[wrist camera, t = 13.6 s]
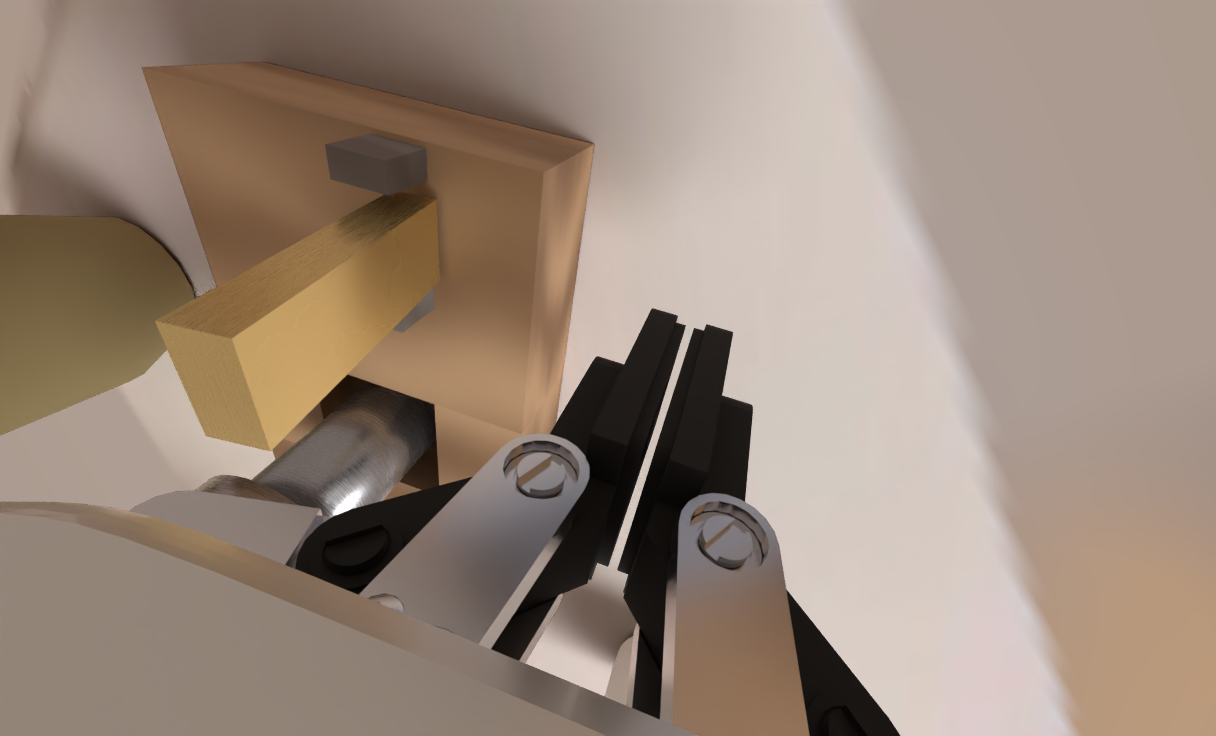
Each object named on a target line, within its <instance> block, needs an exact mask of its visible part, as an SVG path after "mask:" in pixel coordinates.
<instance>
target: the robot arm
mask: <svg viewBox="0 0 1216 736" xmlns="http://www.w3.org/2000/svg"><path fill="white" fill-rule="evenodd" d="M677 318H678V316H677V315H674V314H670V313H667V312H664V311H660V310H657V309H653V308H652V309H651V311H650V313H649V315H648V317H647V319H646V321H645V323H644V325H643V327H642V329H641V332H640V334H639V336H638V338H637V340H636V342H635V344H634V346H633V348H632V350H631V352H630V354H629V356H628V358H627V360H626V362H625V364H621V363H618V362H614V361H611V360H608V359H605V358H602V357H599V356H597V357H596V358H595V359H594V360H593V362H592V364H591V365H590V367H589V369H588V370H587V372H586V374H585V375H584V377H583V379H582V380H581V382H580V384H579V385H578V387H577V389H576V391H575V392H574V394H573V396H572V397H571V399H570V401H569V402H568V404H567V406H566V407H565V409H564V411H563V412H562V414H561V416H560V417H559V419H558V421H557V422H556V424H555V426H554V428H553V429H552V431H551V433H550V434H540V433H537V434H529V435H523V436H521V437H518V438H516V439H513V440H511V441H510V442H508V443H507V444H506V445H504V446H503V447H502V448H501V449H500V450H499V451H498V452H497V453H496V454H495V455H494V456H493V457H492V458H491V459H490V460H489V461H488V462H487V463H486V464H485V465H484V466H483V467H482V468H481V469H480V470H479V471H478V472H477V473H476V474H475V475H474V476H473V477H469V478H465V479H462V480H458V481H454V482H451V483H447V484H443V485H439V486H436V487H432V488H428V489H424V490H421V491H417V492H413V493H409V494H406V495H402V496H398V497H395V498H391V499H387V500H383V501H380V502H376V503H372V504H368V505H365V506H361V507H357V508H353V509H350V510H348V511H345V512H342V513H340V514H337V515H335V516H333V517H328V516H322V512H321V509H319V508H313V507H306V506H299V505H292V504H285V503H278V502H271V501H264V500H257V499H250V498H243V497H236V496H229V495H222V494H215V493H208V492H201V491H176V492H172V493H168V494H164V495H160V496H156V497H154V498H152V499H150V500H148V501H146V502H144V503H142V504H139V505H137V506H135V507H134V508H133V509H131V510H130V511H125V510H120V509H116V508H110V507H103V506H95V505H88V504H78V503H61V502H60V503H59V502H0V736H900V735H899V733H898V731H897V730H896V728H895V727H894V725H893V724H892V722H891V721H890V719H889V718H888V717H887V715H886V714H885V713H884V712H883V710H882V709H881V708H880V707H879V705H878V704H877V703H876V702H875V700H874V699H873V698H872V696H871V695H870V694H869V693H868V691H867V690H866V689H865V688H864V686H863V685H862V684H861V683H860V681H859V680H858V679H857V678H856V676H855V675H854V674H853V673H852V671H851V670H850V669H849V668H848V666H847V665H846V664H845V662H844V661H843V660H842V659H841V657H840V656H839V655H838V654H837V652H836V651H835V650H834V649H833V647H832V646H831V645H830V644H829V642H828V641H827V640H826V639H825V637H824V636H823V635H822V634H821V632H820V631H819V630H818V629H817V627H816V626H815V625H814V623H813V622H812V621H811V620H810V618H809V617H808V616H807V615H806V613H805V612H804V611H803V610H802V608H801V607H800V606H799V605H798V603H797V602H796V601H795V600H794V598H793V597H792V596H791V595H790V593H789V592H788V591H787V590H786V585H785V578H784V572H783V566H782V560H781V553H780V547H779V543H778V540H777V537H776V534H775V532H774V530H773V529H772V527H771V525H770V524H769V522H768V521H767V519H766V518H765V517H764V516H763V515H761V514H760V513H759V512H758V511H757V510H756V509H755V508H754V507H752V506H751V505H749V504H747V503H746V502H745V494H746V483H747V471H748V460H749V449H750V437H751V426H752V414H753V406H752V405H751V404H747V403H744V402H741V401H738V400H735V399H732V398H728V397H725V396H722V392H723V386H724V381H725V375H726V370H727V364H728V358H729V353H730V347H731V341H732V336H733V332H731V331H728V330H724V329H721V328H717V327H714V326H711V325H706V327H705V330H704V331H703V330H699V329H696V328H694V330H693V333H692V336H691V340H690V343H689V346H688V349H687V352H686V355H685V358H684V361H683V365H682V368H681V371H680V374H679V377H678V380H677V383H676V386H675V390H674V393H673V396H672V399H671V402H670V405H669V408H668V411H667V415H666V418H665V421H664V424H663V427H662V430H661V433H660V436H659V440H658V443H657V446H656V449H655V452H654V455H653V459H652V462H651V465H650V468H649V471H648V474H647V478H646V481H645V484H644V487H643V490H642V493H641V497H640V500H639V503H638V506H637V509H636V513H635V516H634V519H633V522H632V525H631V528H630V532H629V535H628V538H627V541H626V544H625V547H624V551H623V554H622V557H621V560H620V563H619V566H618V571H621V572H623V573H626V574H628V578H627V581H626V584H625V588H624V591H623V593H624V597H623V598H624V599H625V601H626V603H627V605H628V607H629V609H630V611H631V612H632V614H633V616H634V618H635V620H636V625H635V629H634V634H633V643H632V653H631V663H630V673H629V683H628V693H627V703H626V705H623V704H621V703H619V702H616V701H614V700H611V699H609V698H607V697H604V696H602V695H599V694H597V693H595V692H592V691H590V690H587V689H585V688H583V687H580V686H578V685H575V684H573V683H571V682H568V681H566V680H563V679H561V678H559V677H556V676H554V675H551V674H549V673H547V672H544V671H542V670H539V669H537V668H535V667H532V666H530V665H527V664H525V663H526V661H527V659H528V658H529V656H530V654H531V653H532V651H533V649H534V647H535V646H536V644H537V642H538V641H539V639H540V637H541V636H542V634H543V632H544V630H545V629H546V627H547V625H548V624H549V622H550V620H551V618H552V617H553V615H554V613H555V612H556V610H557V608H558V607H559V605H560V603H561V600H562V598H563V595H564V593H565V592H568V591H570V590H572V589H575V588H577V587H580V586H582V585H585V584H587V582H588V580H591V578H592V576H593V573H594V570H595V567H596V565H597V563H599V564H602V565H605V566H607V567H608V565H609V562H610V559H611V556H612V553H613V550H614V548H615V545H616V542H617V539H618V536H619V533H620V530H621V527H622V524H623V521H624V518H625V515H626V512H627V509H628V506H629V503H630V500H631V497H632V494H633V491H634V488H635V485H636V482H637V479H638V476H639V473H640V470H641V467H642V464H643V461H644V458H645V455H646V452H647V449H648V446H649V443H650V440H651V437H652V434H653V431H654V428H655V425H656V421H657V418H658V415H659V412H660V408H661V405H662V402H663V399H664V395H665V392H666V389H667V386H668V382H669V379H670V376H671V373H672V369H673V366H674V363H675V360H676V356H677V353H678V350H679V347H680V343H681V340H682V337H683V334H684V330H685V327H686V325H682V324H679V323H676V321H677Z"/></svg>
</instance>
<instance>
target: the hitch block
mask: <svg viewBox="0 0 1216 736" xmlns="http://www.w3.org/2000/svg"><path fill="white" fill-rule="evenodd" d="M142 70H143V73H144V76H145V79H146V82H147V84H148V87H149V90H150V93H151V96H152V99H153V102H154V105H155V108H156V111H157V114H158V117H159V120H160V122H161V125H162V128H163V131H164V134H165V137H166V140H167V143H168V146H169V149H170V152H171V155H172V158H173V160H174V163H175V166H176V169H177V172H178V175H179V178H180V181H181V184H182V187H183V190H184V193H185V196H186V198H187V201H188V204H189V207H190V210H191V213H192V216H193V219H194V222H195V225H196V228H197V231H198V234H199V236H200V239H201V242H202V245H203V248H204V251H205V254H206V257H207V260H208V263H209V266H210V269H211V272H212V274H213V277H214V280H215V283H216V286H219V285H221V284H223V283H224V282H226V281H228V280H230V279H232V278H233V277H235V276H237V275H239V274H241V273H243V272H244V271H246V270H248V269H250V268H252V267H253V266H255V265H257V264H259V263H261V262H263V261H264V260H266V259H268V258H270V257H272V256H273V255H275V254H277V253H279V252H281V251H282V250H284V249H286V248H288V247H290V246H292V245H293V244H295V243H297V242H299V241H301V240H302V239H304V238H306V237H308V236H310V235H311V234H313V233H315V232H317V231H319V230H321V229H322V228H324V227H326V226H328V225H330V224H331V223H333V222H335V221H337V220H339V219H341V218H342V217H344V216H346V215H348V214H350V213H351V212H353V211H355V210H357V209H359V208H360V207H362V206H364V205H366V204H368V203H370V202H371V201H373V200H375V199H377V198H379V197H380V196H382V195H388V196H390V195H392V194H395V193H397V192H405V193H409V194H414V195H419V196H423V197H428V198H432V199H437V220H438V244H439V268H440V282H439V283H438V284H437V285H436V286H435V287H434V288H433V289H432V290H431V291H430V292H429V293H428V294H427V295H426V296H425V297H424V298H423V299H422V300H421V301H420V302H419V303H418V304H417V305H416V306H415V307H414V308H413V309H412V310H411V311H410V312H409V313H408V314H407V315H406V316H405V317H404V318H403V319H402V320H401V321H400V322H399V323H398V324H397V325H396V326H395V327H394V328H393V329H392V330H391V331H390V332H389V333H388V334H387V335H386V336H385V337H384V338H383V339H382V340H381V341H380V342H379V343H378V344H377V345H376V346H375V347H374V348H373V349H372V350H371V351H370V352H369V353H368V354H367V355H366V356H365V357H364V358H363V359H362V360H361V361H360V362H359V363H358V364H357V365H356V366H355V367H354V368H353V369H352V370H351V371H350V372H349V373H348V374H347V375H346V376H345V377H344V378H343V379H342V380H341V381H340V382H339V383H338V384H337V385H336V386H335V387H334V388H333V389H332V390H331V391H330V392H329V393H328V394H327V395H326V396H325V397H324V398H323V399H322V400H321V401H320V402H319V403H318V404H317V405H316V406H315V407H314V408H313V409H312V410H311V411H310V412H309V413H308V414H307V415H306V416H305V417H304V418H303V419H302V420H301V421H300V422H299V423H298V424H297V425H296V426H295V427H294V428H293V429H292V430H291V431H290V432H289V433H288V434H287V435H286V436H285V437H284V438H283V439H282V440H281V441H280V442H279V443H278V444H277V445H276V446H275V447H274V448H273V449H272V450H273V453H274V456H275V459H277V458H278V457H279V456H281V455H282V454H283V453H284V452H285V451H287V450H288V449H289V448H290V447H291V446H293V445H294V444H295V443H296V442H297V441H299V440H300V439H301V438H302V437H303V436H305V435H306V434H307V433H308V432H309V431H310V430H312V429H313V428H314V427H315V426H316V425H318V424H319V423H320V422H321V421H322V420H324V419H325V418H326V417H327V416H328V415H330V414H331V413H332V412H333V411H334V410H336V409H337V408H338V407H339V406H340V405H342V404H343V403H344V402H345V401H346V400H347V399H349V398H350V397H351V396H352V395H353V394H355V393H356V392H357V391H358V390H359V389H361V388H362V387H363V386H364V385H365V384H367V383H368V382H371V383H374V384H377V385H380V386H383V387H386V388H389V389H391V390H394V391H397V392H400V393H403V394H406V395H409V396H412V397H415V398H418V399H421V400H423V401H426V402H429V403H432V404H434V405H435V422H436V439H435V440H434V442H433V443H432V444H431V445H430V446H429V447H428V449H427V450H426V451H425V452H424V453H423V454H422V456H421V457H420V458H419V459H418V460H417V461H416V463H415V464H414V465H413V466H412V467H411V468H410V470H409V471H408V472H407V473H406V474H405V475H404V477H403V478H402V479H401V480H400V481H399V482H398V484H397V485H396V486H395V487H394V488H393V489H392V491H391V492H390V493H389V494H388V495H387V496H386V498H385V499H384V500H387V499H391V498H395V497H398V496H402V495H406V494H409V493H413V492H417V491H421V490H424V489H428V488H432V487H436V486H439V485H443V484H447V483H451V482H454V481H458V480H462V479H465V478H469V477H473V476H474V475H475V474H476V473H477V472H478V471H479V470H480V469H481V468H482V467H483V466H484V465H485V464H486V463H487V462H488V461H489V460H490V459H491V458H492V457H493V456H494V455H495V454H496V453H497V452H498V451H499V450H500V449H501V448H502V447H503V446H504V445H506V444H507V443H508V442H510V441H511V440H513V439H516V438H518V437H521V436H523V435H529V434H537V433H540V434H550V433H551V431H552V429H553V428H554V426H555V424H556V419H557V412H558V404H559V397H560V390H561V383H562V375H563V368H564V361H565V354H566V347H567V339H568V332H569V325H570V318H571V310H572V303H573V296H574V289H575V281H576V274H577V267H578V260H579V252H580V245H581V238H582V231H583V223H584V216H585V209H586V202H587V195H588V187H589V180H590V173H591V166H592V158H593V151H594V144H592V143H588V142H583V141H579V140H575V139H571V138H567V137H563V136H559V135H555V134H551V133H547V132H543V131H539V130H535V129H531V128H527V127H523V126H519V125H515V124H511V123H507V122H503V121H499V120H495V119H491V118H487V117H483V116H479V115H475V114H471V113H467V112H463V111H459V110H455V109H451V108H447V107H443V106H439V105H435V104H431V103H427V102H423V101H419V100H415V99H411V98H407V97H403V96H399V95H395V94H391V93H387V92H383V91H379V90H375V89H371V88H367V87H363V86H359V85H355V84H351V83H347V82H343V81H339V80H335V79H331V78H327V77H323V76H319V75H315V74H311V73H307V72H303V71H298V70H294V69H290V68H286V67H282V66H278V65H274V64H270V63H266V62H248V63H227V64H205V65H184V66H163V67H142Z"/></svg>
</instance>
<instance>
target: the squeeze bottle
mask: <svg viewBox="0 0 1216 736" xmlns="http://www.w3.org/2000/svg"><path fill="white" fill-rule="evenodd" d="M194 299H195V297H194V293H193V289H192V287H191V286H190V284H189V282H188V280H187V279H186V277H185V275H184V273H183V272H182V270H181V268H180V266H179V265H178V264H177V263H176V262H175V261H174V259H173V258H172V257H171V256H170V255H169V254H168V252H167V251H166V250H165V249H164V248H163V247H162V246H161V244H159V243H158V242H157V241H155V240H154V239H153V238H152V237H150V236H149V235H148V234H147V233H145V232H144V231H143V230H142V229H140V228H139V227H137V226H135V225H133V224H131V223H129V222H126V221H124V220H122V219H120V218H118V217H81V216H34V215H0V435H3V434H5V433H7V432H10V431H12V430H15V429H17V428H19V427H22V426H24V425H27V424H29V423H31V422H34V421H36V420H39V419H41V418H43V417H46V416H48V415H50V414H53V413H55V412H58V411H60V410H62V409H65V408H67V407H69V406H72V405H74V404H77V403H79V402H81V401H84V400H86V399H89V398H91V397H93V396H96V395H98V394H101V393H103V392H105V391H108V390H110V389H113V388H115V387H117V386H120V385H122V384H125V383H127V382H129V381H131V380H133V379H135V378H137V377H139V376H140V375H142V374H144V373H145V372H146V371H147V370H148V369H149V368H150V367H151V366H152V365H153V364H154V362H155V361H156V360H157V359H158V358H159V357H160V356H161V355H162V354H163V353H164V352H165V351H166V350H167V348H166V345H165V343H164V341H163V339H162V336H161V334H160V332H159V330H158V327H157V325H156V323H155V320H157V319H159V318H161V317H163V316H165V315H166V314H168V313H170V312H172V311H174V310H175V309H177V308H179V307H181V306H183V305H185V304H186V303H188V302H190V301H192V300H194Z"/></svg>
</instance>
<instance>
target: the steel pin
mask: <svg viewBox="0 0 1216 736" xmlns="http://www.w3.org/2000/svg"><path fill="white" fill-rule="evenodd" d="M435 439H436V422H435V405H434V404H432V403H429V402H426V401H423V400H421V399H418V398H415V397H412V396H409V395H406V394H403V393H400V392H397V391H394V390H391V389H389V388H386V387H383V386H380V385H377V384H374V383H371V382H368V383H367V384H365V385H364V386H363V387H362V388H361V389H359V390H358V391H357V392H356V393H355V394H353V395H352V396H351V397H350V398H349V399H347V400H346V401H345V402H344V403H343V404H342V405H340V406H339V407H338V408H337V409H336V410H334V411H333V412H332V413H331V414H330V415H328V416H327V417H326V418H325V419H324V420H322V421H321V422H320V423H319V424H318V425H316V426H315V427H314V428H313V429H312V430H310V431H309V432H308V433H307V434H306V435H305V436H303V437H302V438H301V439H300V440H299V441H297V442H296V443H295V444H294V445H293V446H291V447H290V448H289V449H288V450H287V451H285V452H284V453H283V454H282V455H281V456H279V457H278V458H277V459H276V460H275V461H273V462H272V463H271V464H270V465H269V466H268V467H266V468H265V469H264V470H263V471H262V472H260V473H259V474H258V475H257V476H256V477H254V478H253V479H252V480H249V479H246V478H242V477H238V476H231V475H220V476H215V477H213V478H210V479H209V480H208V481H206V482H205V483H204V484H202V485H201V486H200V487H199V488H197V489H196V490H195V491H201V492H208V493H215V494H222V495H229V496H236V497H243V498H250V499H257V500H264V501H271V502H278V503H285V504H292V505H299V506H306V507H313V508H319V509H321V512H322V516H328V517H333V516H335V515H337V514H340V513H342V512H345V511H348V510H350V509H353V508H357V507H361V506H365V505H368V504H372V503H376V502H380V501H383V500H384V499H385V498H386V496H387V495H388V494H389V493H390V492H391V491H392V489H393V488H394V487H395V486H396V485H397V484H398V482H399V481H400V480H401V479H402V478H403V477H404V475H405V474H406V473H407V472H408V471H409V470H410V468H411V467H412V466H413V465H414V464H415V463H416V461H417V460H418V459H419V458H420V457H421V456H422V454H423V453H424V452H425V451H426V450H427V449H428V447H429V446H430V445H431V444H432V443H433V442H434V440H435Z"/></svg>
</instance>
